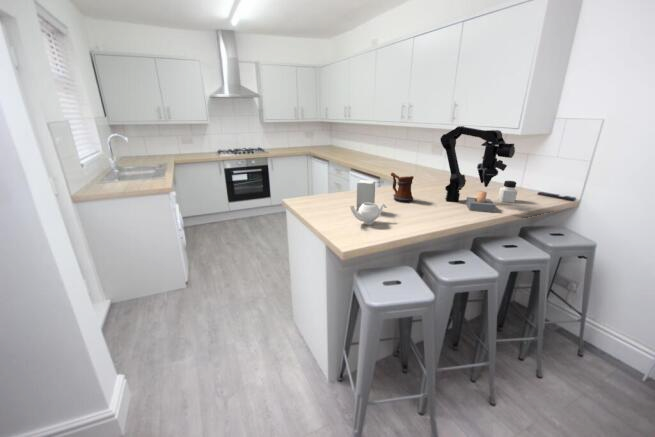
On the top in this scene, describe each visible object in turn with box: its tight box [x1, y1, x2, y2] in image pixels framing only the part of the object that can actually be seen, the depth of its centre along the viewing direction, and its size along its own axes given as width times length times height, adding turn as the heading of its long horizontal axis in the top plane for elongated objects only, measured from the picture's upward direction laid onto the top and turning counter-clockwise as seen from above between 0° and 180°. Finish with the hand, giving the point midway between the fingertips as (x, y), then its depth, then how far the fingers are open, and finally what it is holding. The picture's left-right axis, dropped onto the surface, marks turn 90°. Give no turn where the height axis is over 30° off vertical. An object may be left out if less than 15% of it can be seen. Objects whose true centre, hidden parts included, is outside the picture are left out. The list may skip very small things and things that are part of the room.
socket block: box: [465, 196, 497, 213], centre depth 159 cm, size 12×12×4 cm
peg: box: [476, 190, 487, 203], centre depth 158 cm, size 4×4×9 cm
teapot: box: [349, 202, 388, 226], centre depth 134 cm, size 10×20×9 cm, turn 115°
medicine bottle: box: [497, 180, 518, 204], centre depth 172 cm, size 7×7×12 cm
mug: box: [390, 172, 415, 204], centre depth 172 cm, size 18×12×15 cm, turn 29°
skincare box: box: [356, 179, 376, 212], centre depth 150 cm, size 8×7×16 cm
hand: (483, 184), depth 156 cm, fingers open, 9 cm apart
